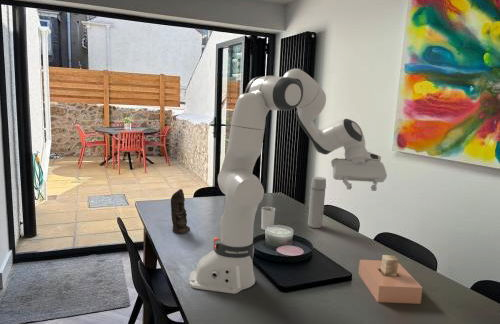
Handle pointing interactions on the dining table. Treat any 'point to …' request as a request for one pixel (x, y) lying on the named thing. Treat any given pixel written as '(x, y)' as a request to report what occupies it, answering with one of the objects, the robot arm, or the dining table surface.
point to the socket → (390, 284)
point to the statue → (179, 213)
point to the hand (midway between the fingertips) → (361, 189)
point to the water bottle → (317, 202)
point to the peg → (389, 266)
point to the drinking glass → (267, 217)
